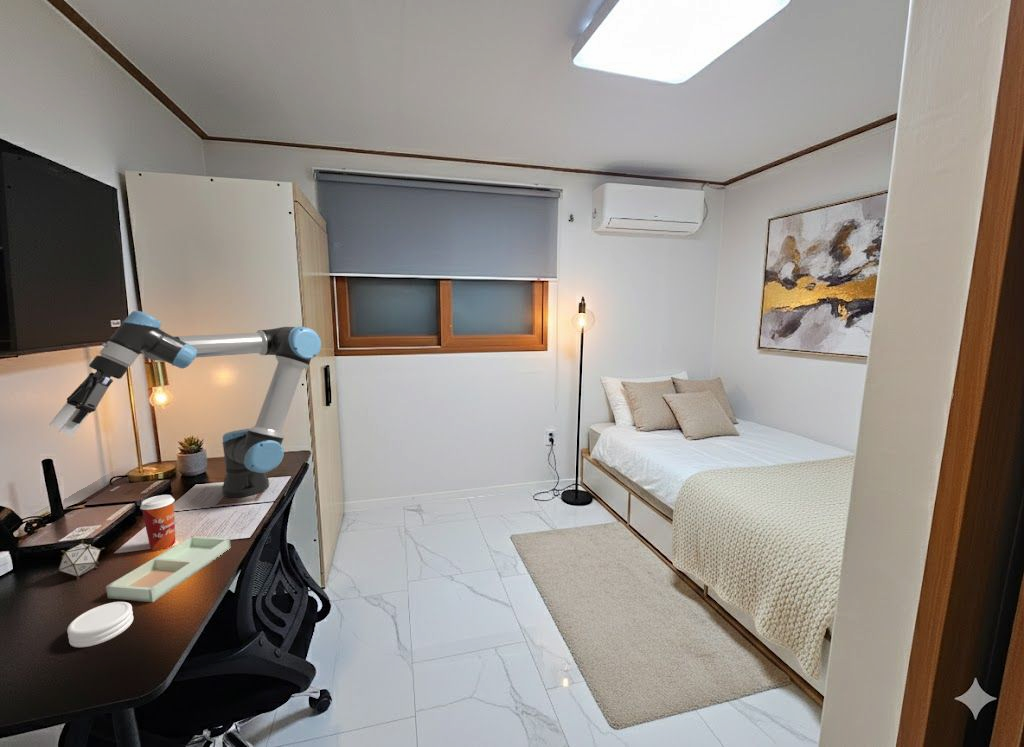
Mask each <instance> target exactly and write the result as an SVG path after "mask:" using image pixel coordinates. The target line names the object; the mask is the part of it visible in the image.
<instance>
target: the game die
mask: <svg viewBox="0 0 1024 747" xmlns="http://www.w3.org/2000/svg"><path fill="white" fill-rule="evenodd" d="M84 542H85V541H84V540H83V539H82V540H81V541H80V543H79V544H78V545H75V546H74V547H72V548H70V549H68V550H66V551H65V550H61V553H63V555H61V561H60V564H59V567H58V569H55V571H54V574H55V573H58V572H61V573H65V574H67V575H71V576H74V577H76V580H77V581H79V580H80V576H82V575H84V574H85V573H88V572H89V571H91V570H92V569H99V567H98V566H97V565H98V564H100V563H99V561H98V560H99V557H100V554H101V551H103V550H104V549H105V547H100V548H98V547H95V546H92V545H89V544H87V543H84Z"/></svg>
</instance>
